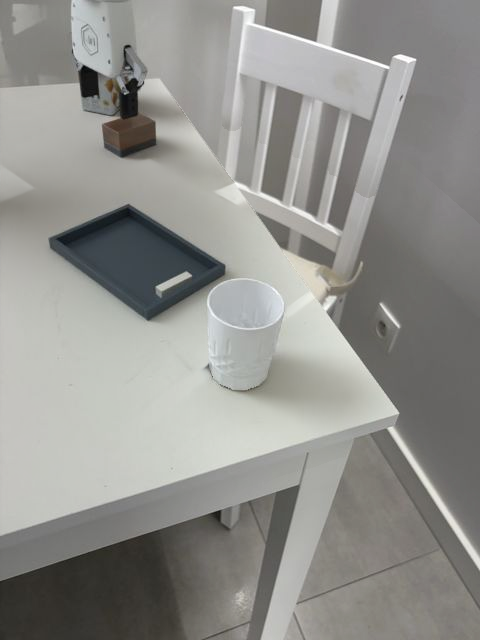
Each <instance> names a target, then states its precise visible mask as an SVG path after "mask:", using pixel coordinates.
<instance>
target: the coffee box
mask: <svg viewBox="0 0 480 640" xmlns="http://www.w3.org/2000/svg"><path fill="white" fill-rule="evenodd" d="M79 71H80V70H78V69H77V75H78V77H79ZM121 71H122V70H121ZM124 79H125V81H126V83H128V82H129V81H130V80H129V78H128V76H125V77H124ZM78 83H79V85H80V80H79V79H78ZM98 84H99V94H98V95H95V96H91V97H87V98H84V97H82V96H81V95H80V100H81V109H82V111H88V112H92V113H97V114H102V115H107V116H114V115H115V114H116V113H117V112H118V111H120V105H119V93H120V92H122V90H121V88H120V86H119V84H118V81H117V79H116V77H114V78H109V77H107V76H104V75H102V74H100V73H98ZM79 92H80V93H79V94H81V90H80V89H79Z"/></svg>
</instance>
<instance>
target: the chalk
mask: <svg viewBox="0 0 480 640" xmlns="http://www.w3.org/2000/svg"><path fill="white" fill-rule="evenodd" d="M190 281H192V275H191V274H189V273H188V272H187V271H186V272H184V273H182V274H180V275H178V276H176V277H174V278H172V279H170V280H168V281H166V282H164V283H162V284H160V285H158V286H156V294H157V295H158V296H159V297H161V298H162V297H164V296H166V295H167V294H169V293H171V292H173V291H174V290H176V289H178V288H180V287H181V286H183V285H185V284H186V283H188V282H190Z"/></svg>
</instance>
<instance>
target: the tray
mask: <svg viewBox="0 0 480 640" xmlns="http://www.w3.org/2000/svg"><path fill="white" fill-rule="evenodd" d="M48 244H49V248H50V249H51V250H52V251H54V252H55V253H56V254H58V255H59V256H60V257H61V258H62V259H64V260H66V261H67V262H68V263H69V264H71V265H72V266H74V267H75V268H76V269H78V270H79V271H80V272H81V273H83V274H84V275H86V276H87V277H88V278H89V279H91V280H93V281H94V282H95V283H97V284H98V285H99V286H100V287H102V288H103V289H104V290H106V291H107V292H108V293H110V294H111V295H113V296H114V297H115V298H117V299H118V300H119V301H121V302H122V303H123V304H125V305H126V306H127V307H128V308H130V309H131V310H132V311H134V312H135V313H136V314H138V315H139V316H141V317H142V318H143V319H145V320H146V321H150V320H152V319H153V318H155V317H156V316H158V315H160V314H162V313H163V312H165V311H167V310H169V309H170V308H172V307H173V306H175V305H176V304H178V303H180V302H182V301H184V300H185V299H187V298H189V297H190V296H192V295H193V294H195V293H197V292H198V291H200V290H201V289H203V288H205V287H207V286H208V285H210V284H211V283H213V282H214V281H216V280H218V279H220V278H221V277H223V276H225V274H226V264H225V263H223V262H221V261H220V260H219V259H217V258H216V257H213V256H212V255H210V254H209V253H207V252H206V251H204V250H203V249H201V248H199V247H198V246H196V245H194V244H193V243H191V242H190V241H188V240H187V239H185V238H183V236H181V235H179V234H177V233H176V232H174V231H173V230H171V229H169V228H168V227H166V226H165V225H164V224H161V223H160V222H158V221H157V220H155V219H153V218H152V217H150V216H149V215H147V214H146V213H144V212H143V211H141V210H139V209H137V208H136V207H135V206H133V205H131V204H130V203H127V204H124V205H122V206H120V207H118V208H115V209H113V210H111V211H109V212H106V213H104V214H101V215H100V216H97V217H94V218H92V219H90V220H87V221H85V222H82V223H81V224H78V225H76V226H73V227H71V228H69V229H67V230H64V231H62V232H59V233H56V234H55V235H53V236H50V237H48ZM186 271H187V272H188V273H189V274H191V275H192V281H190V282H188V283H186V284H185V285H183V286H181V287H180V288H178V289H176V290H174V291H173V292H171V293H169V294H167V295H166V296H164V297H162V298H161V297H159V296H158V295H157V294H156V286H158V285H160V284H162V283H164V282H166V281H168V280H170V279H172V278H174V277H176V276H178V275H180V274H182V273H184V272H186Z"/></svg>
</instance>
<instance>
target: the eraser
mask: <svg viewBox="0 0 480 640" xmlns="http://www.w3.org/2000/svg"><path fill="white" fill-rule="evenodd" d="M156 124H157V123H156V121H155V120H154V119H152V118H150V117H148V116H146V115H144V114H143V113H141V112H138V115H137V116H136V117H132V118H128V119H125V120H123V119H122V118H120V117H119V118H116V119H112V120H110V121H107V122H103V123H101V129H102V131H101V132H102V140H103V147H104V149H106V150H107V151H109V152H111V153H113V154H115V155H116V156H118V157H120V158H124V157H126V156H129V155H131V154H134V153H137V152H139V151H143V150H145V149H147V148H150V147H153V146H156V145H157V125H156Z"/></svg>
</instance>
